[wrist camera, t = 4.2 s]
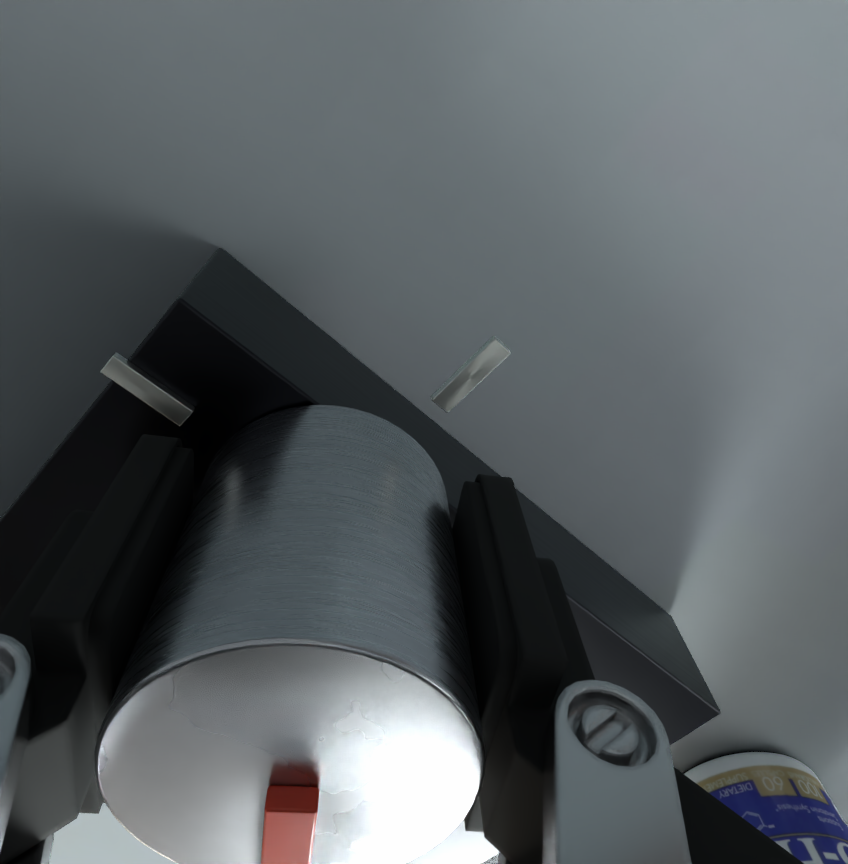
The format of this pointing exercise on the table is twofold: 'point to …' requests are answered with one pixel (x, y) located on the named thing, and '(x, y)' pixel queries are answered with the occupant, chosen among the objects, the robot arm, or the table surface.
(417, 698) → the hob knob
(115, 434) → the panel
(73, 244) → the table surface
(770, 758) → the pill bottle
